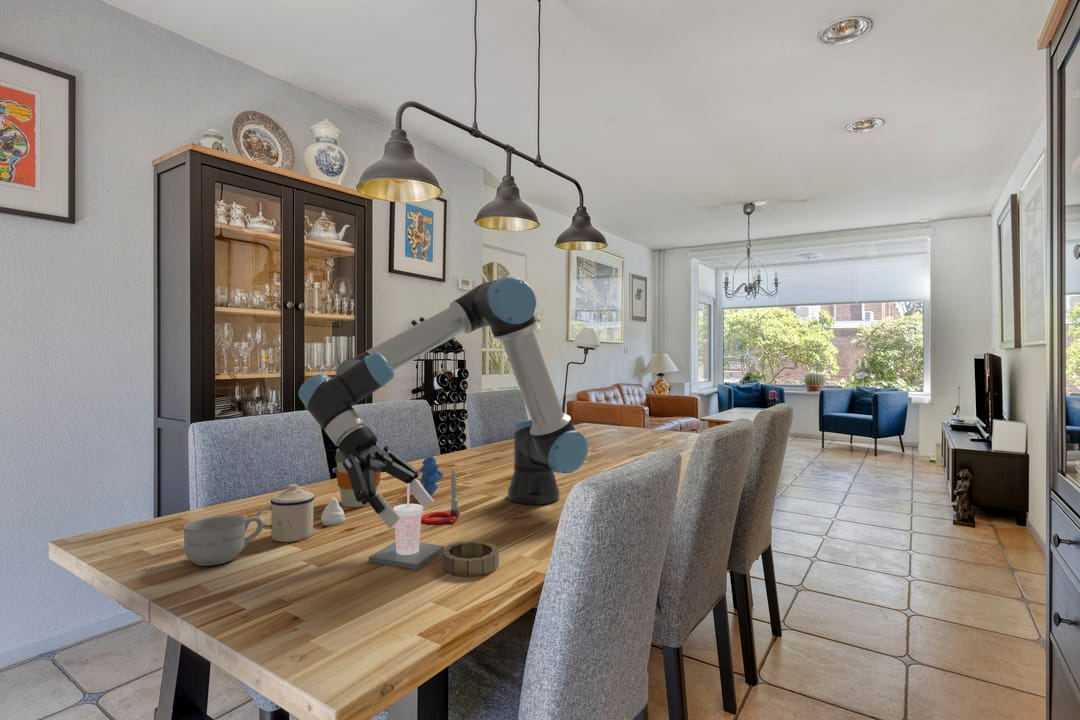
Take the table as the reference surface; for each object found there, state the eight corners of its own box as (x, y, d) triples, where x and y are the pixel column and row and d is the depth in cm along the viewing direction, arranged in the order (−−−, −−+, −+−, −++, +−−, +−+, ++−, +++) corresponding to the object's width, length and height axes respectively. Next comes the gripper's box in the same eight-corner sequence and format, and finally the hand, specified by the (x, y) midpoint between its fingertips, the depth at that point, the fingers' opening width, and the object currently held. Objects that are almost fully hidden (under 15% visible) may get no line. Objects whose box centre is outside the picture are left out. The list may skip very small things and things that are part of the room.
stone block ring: (473, 551, 117) (474, 537, 117) (509, 565, 109) (509, 550, 109) (431, 565, 109) (431, 550, 109) (466, 581, 101) (466, 565, 101)
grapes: (449, 499, 158) (450, 457, 158) (426, 502, 155) (427, 459, 155) (437, 490, 168) (437, 451, 168) (415, 492, 165) (415, 452, 165)
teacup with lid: (312, 528, 131) (313, 479, 131) (315, 539, 122) (316, 487, 122) (256, 534, 125) (256, 483, 125) (254, 547, 117) (255, 492, 117)
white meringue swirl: (348, 498, 135) (325, 502, 131) (348, 523, 135) (325, 527, 131) (339, 494, 139) (317, 497, 135) (339, 518, 139) (317, 522, 135)
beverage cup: (386, 553, 112) (386, 484, 112) (404, 544, 118) (405, 478, 118) (410, 558, 110) (411, 488, 109) (428, 548, 115) (429, 481, 115)
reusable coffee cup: (363, 494, 162) (364, 443, 162) (391, 501, 155) (392, 448, 154) (325, 503, 152) (325, 449, 152) (353, 511, 144) (353, 454, 144)
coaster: (399, 544, 121) (399, 539, 120) (444, 550, 117) (444, 545, 117) (368, 561, 110) (368, 556, 110) (416, 569, 107) (416, 564, 107)
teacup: (179, 575, 102) (180, 532, 102) (186, 555, 112) (186, 516, 112) (263, 563, 109) (263, 522, 109) (262, 545, 118) (263, 508, 118)
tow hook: (417, 525, 135) (454, 525, 135) (415, 473, 135) (452, 472, 135) (426, 516, 144) (461, 515, 143) (424, 466, 144) (459, 465, 143)
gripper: (376, 439, 130) (431, 509, 126) (299, 458, 106) (364, 544, 102) (395, 418, 129) (452, 488, 124) (322, 432, 105) (390, 519, 100)
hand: (413, 514), depth 113 cm, fingers open, 13 cm apart
